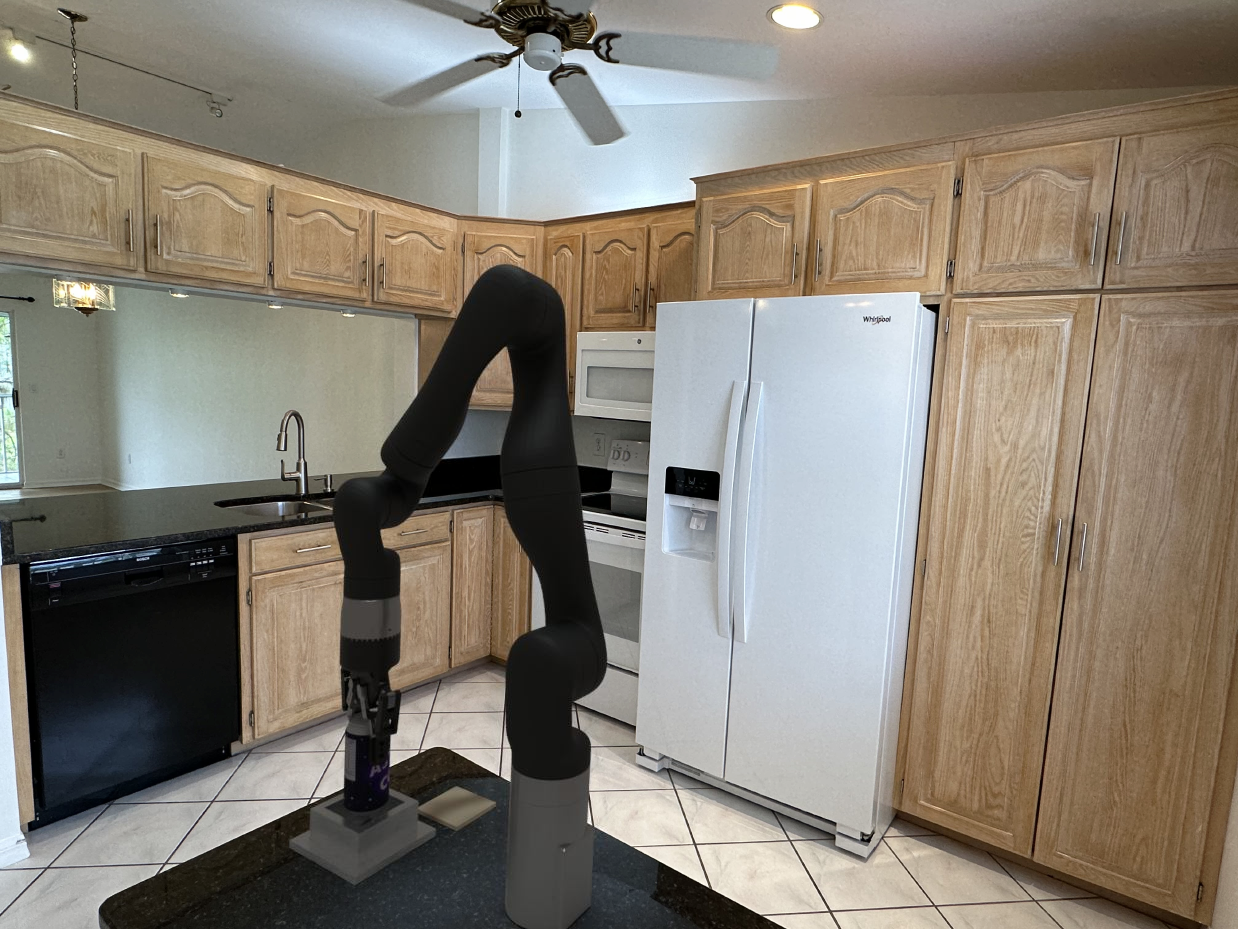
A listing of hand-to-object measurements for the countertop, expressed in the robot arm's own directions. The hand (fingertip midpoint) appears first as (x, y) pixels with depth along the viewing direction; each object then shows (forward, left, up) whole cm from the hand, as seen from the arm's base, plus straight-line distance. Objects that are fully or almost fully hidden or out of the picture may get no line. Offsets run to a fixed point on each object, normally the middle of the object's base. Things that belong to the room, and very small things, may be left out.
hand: (367, 754), depth 93 cm
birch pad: (-4, -13, -12) cm, 18 cm away
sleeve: (0, 0, -12) cm, 12 cm away
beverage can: (0, 0, -7) cm, 7 cm away
